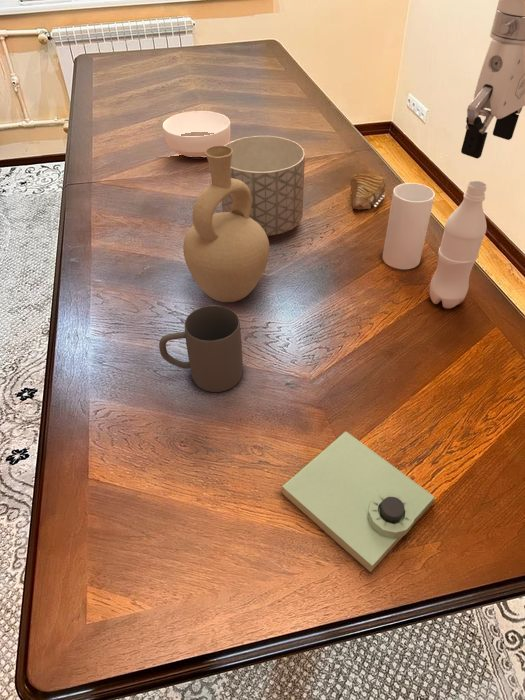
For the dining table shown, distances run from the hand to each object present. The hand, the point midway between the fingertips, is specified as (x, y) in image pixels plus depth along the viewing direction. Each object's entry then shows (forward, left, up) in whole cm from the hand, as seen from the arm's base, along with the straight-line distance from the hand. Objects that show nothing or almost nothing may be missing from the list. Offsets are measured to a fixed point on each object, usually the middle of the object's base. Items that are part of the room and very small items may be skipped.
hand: (486, 146), depth 87 cm
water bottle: (0, 0, -32) cm, 32 cm away
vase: (+33, +29, -32) cm, 54 cm away
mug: (+18, +48, -32) cm, 60 cm away
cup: (+15, -6, -32) cm, 35 cm away
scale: (-16, +48, -32) cm, 60 cm away
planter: (+47, +6, -32) cm, 57 cm away
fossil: (+36, -21, -32) cm, 52 cm away
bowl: (+91, -10, -32) cm, 97 cm away
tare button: (-22, +48, -28) cm, 60 cm away
